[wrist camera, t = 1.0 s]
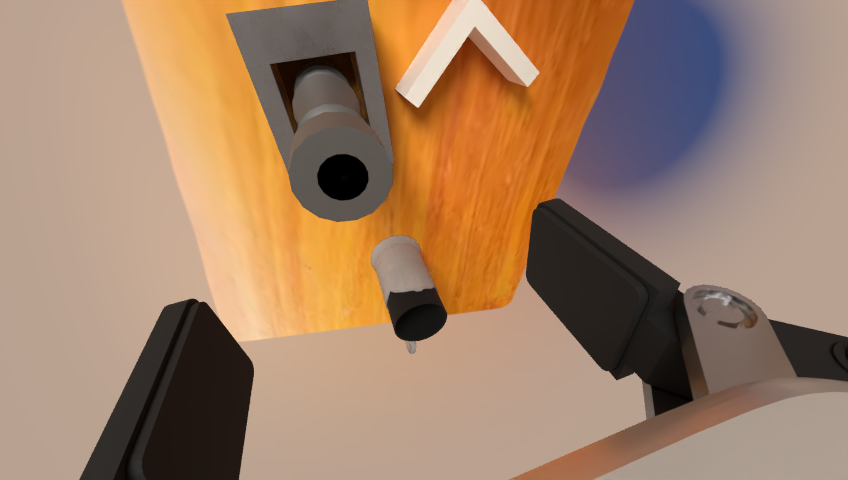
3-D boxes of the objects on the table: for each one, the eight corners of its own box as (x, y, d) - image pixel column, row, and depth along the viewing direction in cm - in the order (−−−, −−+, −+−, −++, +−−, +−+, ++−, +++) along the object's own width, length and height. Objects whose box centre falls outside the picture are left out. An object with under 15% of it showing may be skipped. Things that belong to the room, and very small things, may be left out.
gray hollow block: (237, 13, 31) (225, 14, 26) (357, -2, 33) (366, -4, 28) (294, 165, 41) (292, 185, 36) (384, 146, 43) (394, 162, 38)
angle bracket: (382, 3, 34) (392, 2, 30) (523, -15, 37) (549, -18, 33) (396, 100, 40) (406, 110, 36) (517, 78, 43) (538, 85, 39)
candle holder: (305, 122, 38) (307, 237, 19) (285, 65, 35) (261, 135, 15) (355, 112, 39) (405, 210, 20) (341, 55, 36) (386, 109, 16)
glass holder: (422, 233, 53) (456, 295, 42) (415, 294, 61) (441, 360, 50) (371, 237, 51) (391, 304, 39) (370, 300, 59) (386, 372, 47)
